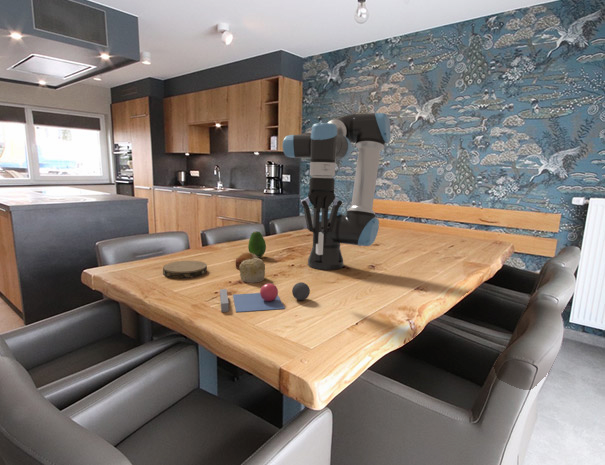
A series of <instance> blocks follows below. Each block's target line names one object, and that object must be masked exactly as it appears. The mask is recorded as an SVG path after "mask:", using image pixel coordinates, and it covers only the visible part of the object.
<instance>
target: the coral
mask: <svg viewBox="0 0 605 465" xmlns="http://www.w3.org/2000/svg"><path fill="white" fill-rule="evenodd" d="M239 269H240V270H239ZM239 269H238V270H239V276H240V280H241V282H245V283H251V284H253V283H261V282H262V281H263V282H264V279H265V276H266V271H265V270H266V264H265V263H264V261H263V260H262V259H261V258H260V257H258V258H254V259H247V260H245V261H243V262H242V263H241V264H240V266H239Z"/></svg>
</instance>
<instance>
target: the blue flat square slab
mask: <svg viewBox="0 0 605 465" xmlns="http://www.w3.org/2000/svg"><path fill="white" fill-rule="evenodd" d="M232 298H233V299H232V300H233V303H234V307H235V313H243V312H244V313H246V312H248V313H249V312H259V311H271V310H272V311H273V310H274V311H276V310H285V309H286V307H285V305H284V303H283V302H282V300H281V298H280V296H279V294H278V295H277V297H276V299H275V300H273V301H270V302H268V301H265V300H263V299H262V298H261V296H260V292H254V293H253V292H251V293H238V294H237V293H235V294H232Z"/></svg>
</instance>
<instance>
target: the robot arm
mask: <svg viewBox="0 0 605 465" xmlns="http://www.w3.org/2000/svg"><path fill="white" fill-rule="evenodd" d="M391 132H392V131H391V122H390V118H389V116H388V114H387V113H386V112H385V113H384V112H370V113H368V112H367V113H351V114H350V113H349V114H346V115H343V116H339V117H337V118H334V119H331V120H329V121H328V122H317V123H313V124H312V126H311V130H309V131H306V132H303V133H300V134H290V135H289V134H288V135H286V136H285V137H284V139H283V140H282V152H283V154H284V156H285V157H287V158H294V159H310V160H309V161H310V164H309V176H311V177H310V178H309V185H308V186H309V187H308V188H309V190H308V193H307V197H306V198H303V199H301V200H299V203H300V205H301V206H302V208H303V213H304V218H305V223H306V227H307V231H309V232H311V233H312V247H311V250H310V253H309V256H308V259H307V265H308V266H309V267H310V268H312V269H317V270H326V271H328V270H329V271H331V270H332V271H333V270H340V269H342V268H343V267H344V257H343V255H342V251H341V244H342V245H345V244H346V245H352V246H358V247H370V246H371V245H373V244H374V242H375V241H376V239H377V236H378V232H379V229H380V228H379V227H380V220H379V218H377V217H376V213H375V211H374V210H373V208H374V200H375V199H374V198H375V191H376V184H377V178H378V177H377V176H378V169H379V162H380V155H381V151H383V150H384V149H385V145H386V144H388V143H390V140H391V137H392V134H391ZM352 143H353V144H355V146H356V148H357V149H358V152H357V162H356V169H355V174H354V175H355V176H354V184H353V191H352V196H351V197H352V198H351V204H350V205H351V207H349V208H348V209H347V210H346V214H345V215H344V214H343V213H342V211H341V210H339V209H340V207H341V205H343V201H342V200H339V199H338V198H336V194H335V184H336V183H335V182H336V181H335V180H336V178H334V177H335V176H336V161H337V160H341V159H345V158H347V157H348V156H349V155H350V153H351V151H352ZM310 204H311V205H312V207H313V209H312V210H313V221H312V214H311V211H310V207H309V206H310ZM331 205H332V207H331V211H330V208H329V207H330V206H331Z"/></svg>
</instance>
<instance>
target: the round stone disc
mask: <svg viewBox="0 0 605 465" xmlns="http://www.w3.org/2000/svg"><path fill="white" fill-rule="evenodd" d="M207 267H208V264H207V263H206V262H204V261H201V260H200V261H199V260H178V261H177V260H176V261H172V262H169V263H165V264H164V265H163V266H162V274H163V276H164V277H166V278H169V279H173V280H174V279H176V280H177V279H178V280H181V279H182V280H183V279H184V280H187V279H195V278H199V277H202V276H203V275H205V274H207V273H208V268H207Z"/></svg>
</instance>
